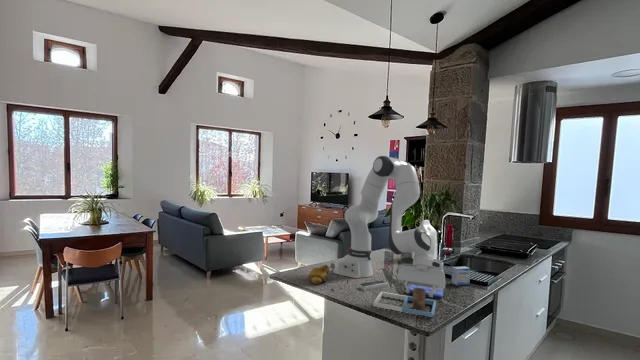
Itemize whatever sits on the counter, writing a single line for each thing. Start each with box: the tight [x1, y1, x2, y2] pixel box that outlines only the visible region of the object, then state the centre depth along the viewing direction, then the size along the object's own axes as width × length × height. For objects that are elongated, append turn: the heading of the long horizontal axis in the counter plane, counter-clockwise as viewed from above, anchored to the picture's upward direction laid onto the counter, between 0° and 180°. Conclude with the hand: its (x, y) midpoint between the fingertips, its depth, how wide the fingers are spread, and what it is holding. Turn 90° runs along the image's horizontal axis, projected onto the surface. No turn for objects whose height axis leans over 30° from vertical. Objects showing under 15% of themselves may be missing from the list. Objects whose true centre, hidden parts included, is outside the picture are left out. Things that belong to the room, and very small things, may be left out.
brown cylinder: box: [412, 288, 426, 311], centre depth 144 cm, size 5×5×8 cm
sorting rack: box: [372, 291, 437, 318], centre depth 146 cm, size 24×15×2 cm, turn 66°
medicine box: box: [451, 265, 471, 286], centre depth 177 cm, size 8×4×9 cm, turn 105°
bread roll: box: [308, 264, 330, 285], centre depth 176 cm, size 13×10×8 cm
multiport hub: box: [358, 279, 388, 291], centre depth 169 cm, size 4×14×2 cm, turn 118°
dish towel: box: [404, 284, 444, 300], centre depth 169 cm, size 17×24×3 cm
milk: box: [411, 219, 438, 260], centre depth 224 cm, size 12×12×26 cm
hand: (419, 294), depth 143 cm, fingers open, 8 cm apart
